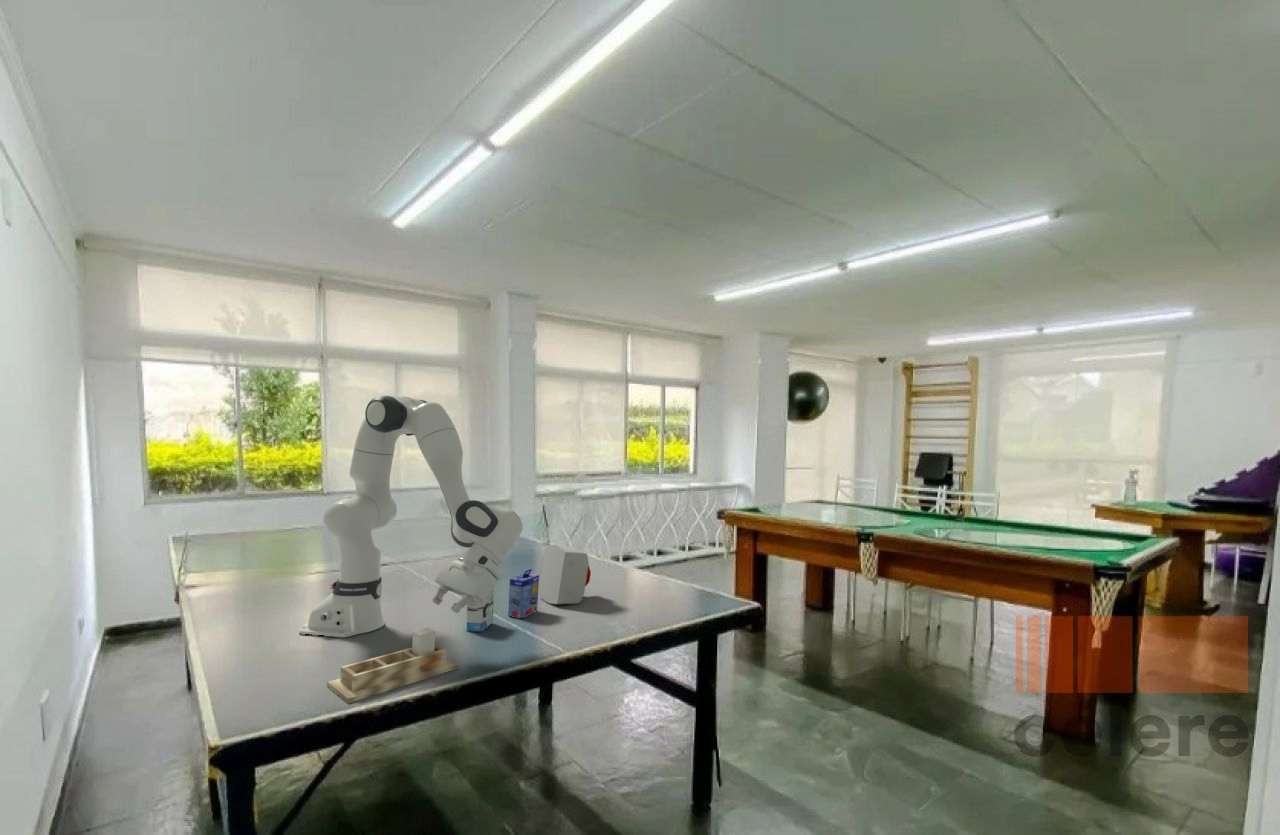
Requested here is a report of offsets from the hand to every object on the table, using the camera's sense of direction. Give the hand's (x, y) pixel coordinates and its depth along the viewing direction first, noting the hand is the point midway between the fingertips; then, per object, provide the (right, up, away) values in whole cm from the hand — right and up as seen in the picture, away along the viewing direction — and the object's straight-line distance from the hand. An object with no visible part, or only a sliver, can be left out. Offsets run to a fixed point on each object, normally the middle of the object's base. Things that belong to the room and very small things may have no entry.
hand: (444, 607), depth 147 cm
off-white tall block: (-4, -13, -4) cm, 14 cm away
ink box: (+2, -15, +27) cm, 31 cm away
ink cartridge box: (+12, -16, +40) cm, 45 cm away
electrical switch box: (+24, -17, +58) cm, 65 cm away
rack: (-9, -14, -10) cm, 19 cm away
